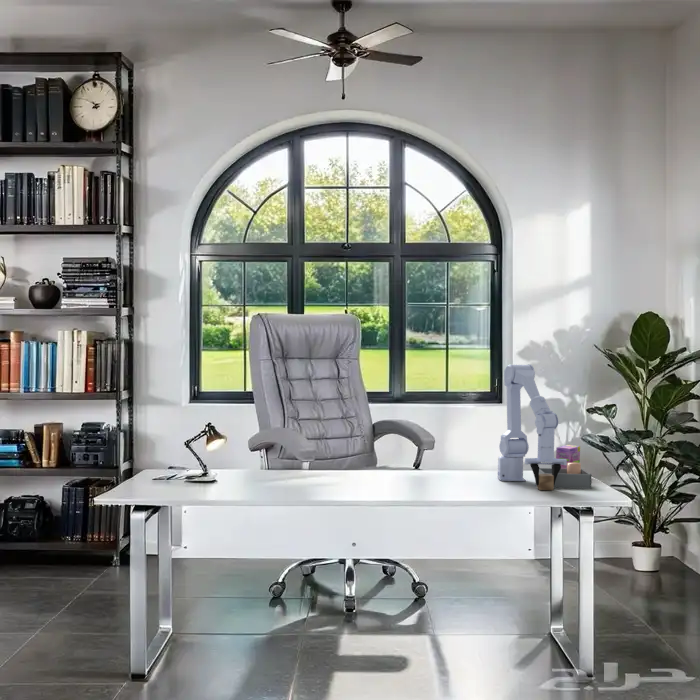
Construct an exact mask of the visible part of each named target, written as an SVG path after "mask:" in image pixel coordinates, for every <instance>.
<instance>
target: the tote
mask: <svg viewBox="0 0 700 700" xmlns="http://www.w3.org/2000/svg"><path fill="white" fill-rule="evenodd" d="M539 474H552V467H551V468H549V467H547V468H546V467H539ZM555 487H558V488H559V489H560V488H564V489H567V488H568V489H572V488H573V489H592V474H591V473H590V472H588V471H586V469H583V468H581V474H567V469H560V471H559V473H558V475H557V477H556V481H555V485H554V488H555Z"/></svg>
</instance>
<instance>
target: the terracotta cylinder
mask: <svg viewBox="0 0 700 700" xmlns="http://www.w3.org/2000/svg"><path fill="white" fill-rule="evenodd" d="M581 469H582V463H581V462H580V463H576V462H568V463H567V474H581Z"/></svg>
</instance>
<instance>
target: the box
mask: <svg viewBox="0 0 700 700" xmlns="http://www.w3.org/2000/svg"><path fill="white" fill-rule="evenodd" d="M555 454H556V455H555V459H566V460H567V463H568V462H576V463H581V462H580V460H581V446H580V445H575V444H566V445H562V446H561V445H560V446H558V447H557V446H556V450H555ZM561 469H567V465H561Z"/></svg>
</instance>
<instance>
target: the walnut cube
mask: <svg viewBox="0 0 700 700" xmlns="http://www.w3.org/2000/svg"><path fill="white" fill-rule="evenodd" d="M536 489H538V490H539V491H554V476H553V475H552V474H539V485H536Z"/></svg>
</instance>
